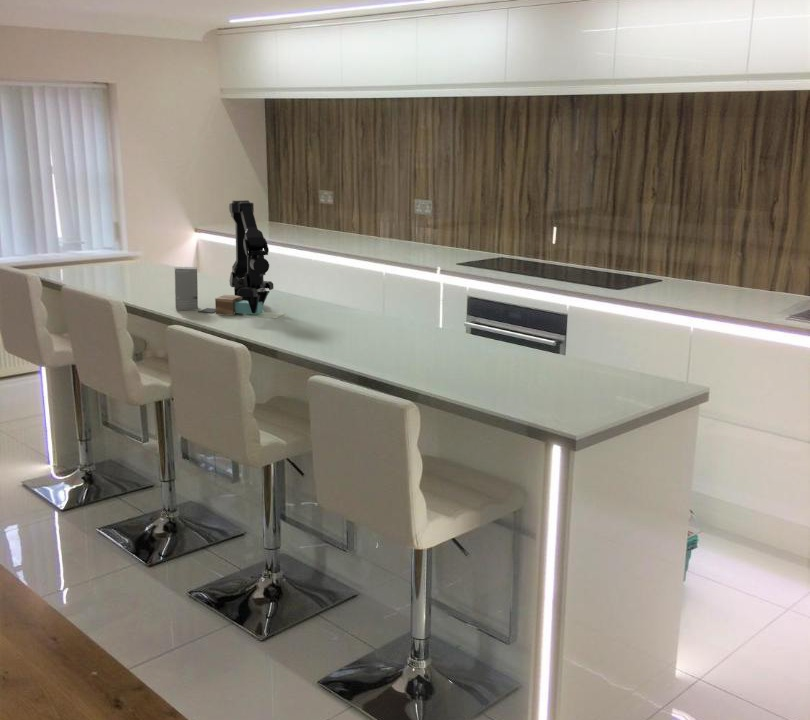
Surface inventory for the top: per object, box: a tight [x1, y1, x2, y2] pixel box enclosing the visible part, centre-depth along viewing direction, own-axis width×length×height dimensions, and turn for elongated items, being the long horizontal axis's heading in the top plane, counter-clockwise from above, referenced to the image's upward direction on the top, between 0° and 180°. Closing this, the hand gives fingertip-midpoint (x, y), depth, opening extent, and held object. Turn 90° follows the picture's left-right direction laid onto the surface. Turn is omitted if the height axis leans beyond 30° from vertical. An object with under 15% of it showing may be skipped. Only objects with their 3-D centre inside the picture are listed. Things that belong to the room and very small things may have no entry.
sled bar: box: [234, 300, 264, 315], centre depth 331 cm, size 4×14×4 cm, turn 74°
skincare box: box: [174, 266, 199, 311], centre depth 337 cm, size 8×7×16 cm
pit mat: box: [197, 307, 216, 314], centre depth 335 cm, size 7×6×1 cm
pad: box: [242, 311, 285, 319], centre depth 329 cm, size 8×13×1 cm, turn 74°
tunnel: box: [214, 294, 242, 316], centre depth 332 cm, size 8×7×6 cm
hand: (256, 311), depth 330 cm, fingers closed on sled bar, 4 cm apart
